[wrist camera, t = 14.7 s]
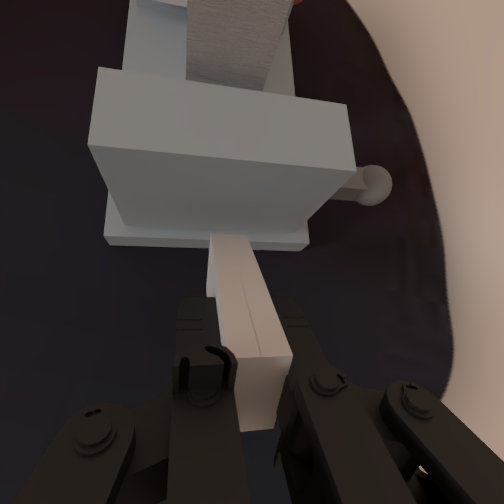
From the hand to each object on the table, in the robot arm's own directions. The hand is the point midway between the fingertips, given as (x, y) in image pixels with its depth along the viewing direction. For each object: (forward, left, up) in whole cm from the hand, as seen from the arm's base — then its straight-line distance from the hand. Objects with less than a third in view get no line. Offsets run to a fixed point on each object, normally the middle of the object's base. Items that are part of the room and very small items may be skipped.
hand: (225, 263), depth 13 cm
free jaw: (+2, +4, -3) cm, 5 cm away
